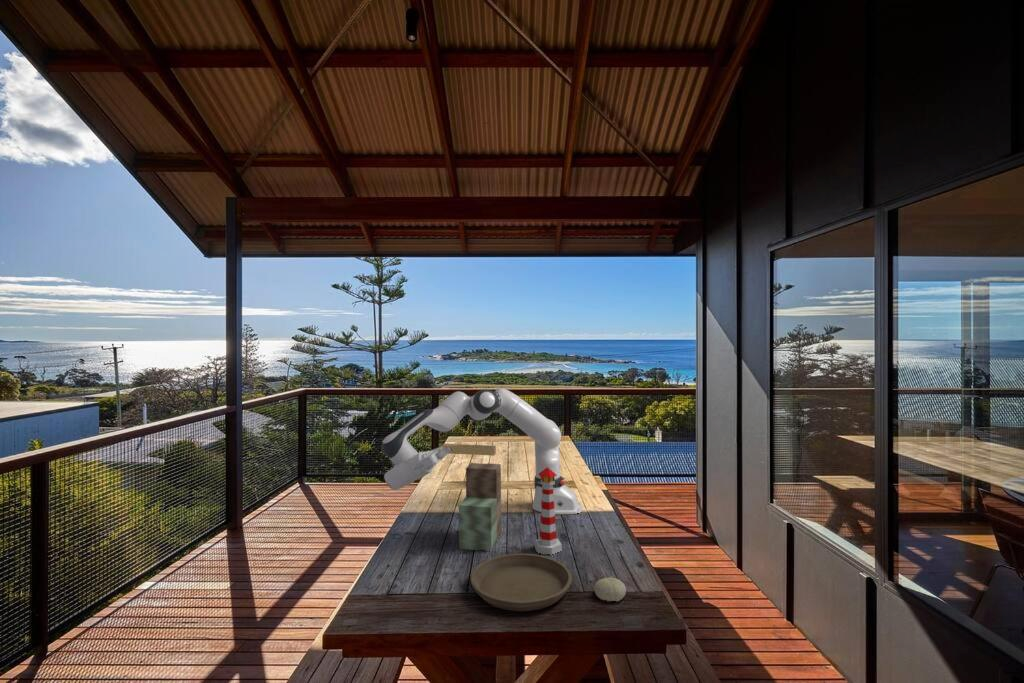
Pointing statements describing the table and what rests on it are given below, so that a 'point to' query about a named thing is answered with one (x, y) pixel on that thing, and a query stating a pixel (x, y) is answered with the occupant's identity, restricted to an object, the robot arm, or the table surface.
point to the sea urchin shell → (610, 589)
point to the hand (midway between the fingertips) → (452, 447)
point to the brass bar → (471, 449)
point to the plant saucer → (521, 581)
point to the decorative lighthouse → (547, 517)
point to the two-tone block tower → (481, 507)
